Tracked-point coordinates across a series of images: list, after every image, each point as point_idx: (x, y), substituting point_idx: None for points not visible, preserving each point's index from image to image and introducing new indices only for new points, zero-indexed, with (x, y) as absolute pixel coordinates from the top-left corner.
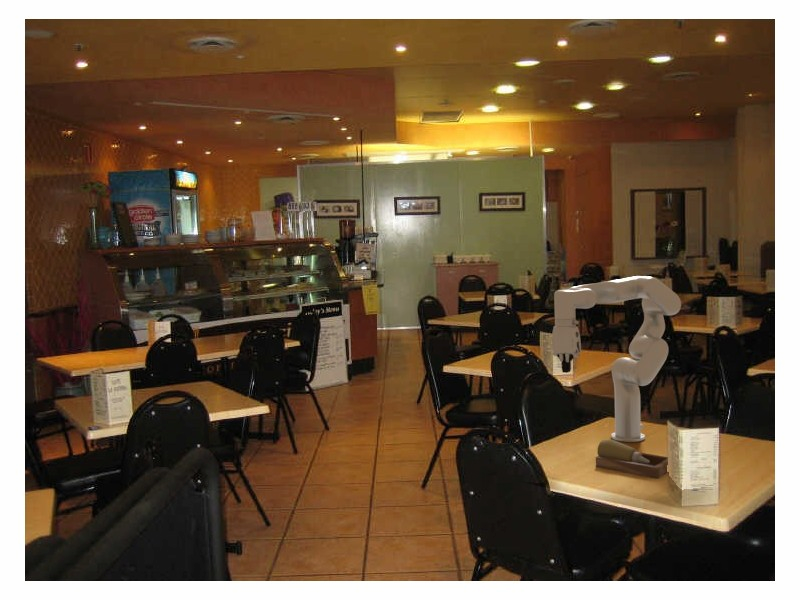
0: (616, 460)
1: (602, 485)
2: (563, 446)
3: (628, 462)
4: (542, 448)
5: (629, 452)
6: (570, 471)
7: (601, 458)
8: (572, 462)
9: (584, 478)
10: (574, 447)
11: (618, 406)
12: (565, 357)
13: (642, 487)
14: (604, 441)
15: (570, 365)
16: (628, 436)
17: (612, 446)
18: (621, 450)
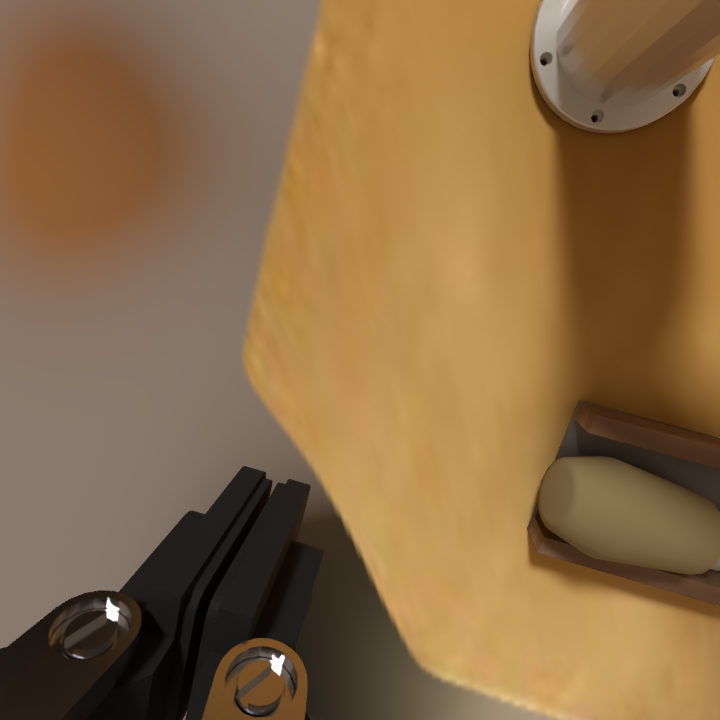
0: (625, 575)
1: (575, 688)
2: (344, 303)
3: (674, 587)
4: (273, 360)
5: (696, 573)
6: (450, 591)
7: (561, 558)
8: (433, 499)
9: (509, 643)
10: (392, 303)
11: (680, 4)
12: (81, 716)
13: (705, 680)
14: (587, 534)
15: (306, 609)
16: (640, 100)
17: (624, 561)
18: (662, 569)
